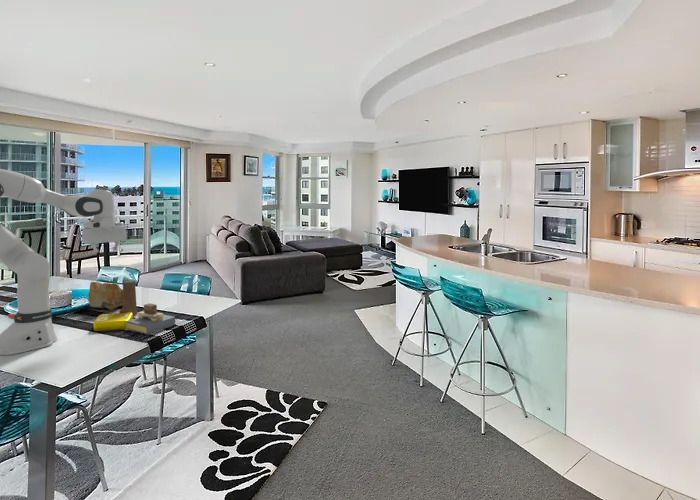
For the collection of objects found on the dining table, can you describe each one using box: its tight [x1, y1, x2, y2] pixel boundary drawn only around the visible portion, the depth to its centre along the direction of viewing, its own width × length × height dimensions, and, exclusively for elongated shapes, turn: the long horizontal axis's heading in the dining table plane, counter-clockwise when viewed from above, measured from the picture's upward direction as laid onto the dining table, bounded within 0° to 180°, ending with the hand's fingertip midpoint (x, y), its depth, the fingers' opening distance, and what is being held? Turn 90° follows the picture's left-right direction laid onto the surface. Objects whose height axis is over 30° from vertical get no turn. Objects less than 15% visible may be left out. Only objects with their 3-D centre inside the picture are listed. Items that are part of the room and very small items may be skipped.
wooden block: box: [118, 280, 138, 317], centre depth 226 cm, size 9×4×18 cm, turn 178°
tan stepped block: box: [137, 310, 164, 322], centre depth 211 cm, size 5×12×3 cm, turn 62°
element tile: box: [93, 312, 134, 332], centre depth 214 cm, size 15×15×5 cm
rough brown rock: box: [87, 281, 124, 311], centre depth 244 cm, size 23×17×15 cm
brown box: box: [143, 303, 158, 315], centre depth 211 cm, size 3×5×4 cm, turn 62°
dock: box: [126, 313, 176, 335], centre depth 212 cm, size 16×14×4 cm
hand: (105, 251), depth 214 cm, fingers open, 8 cm apart
